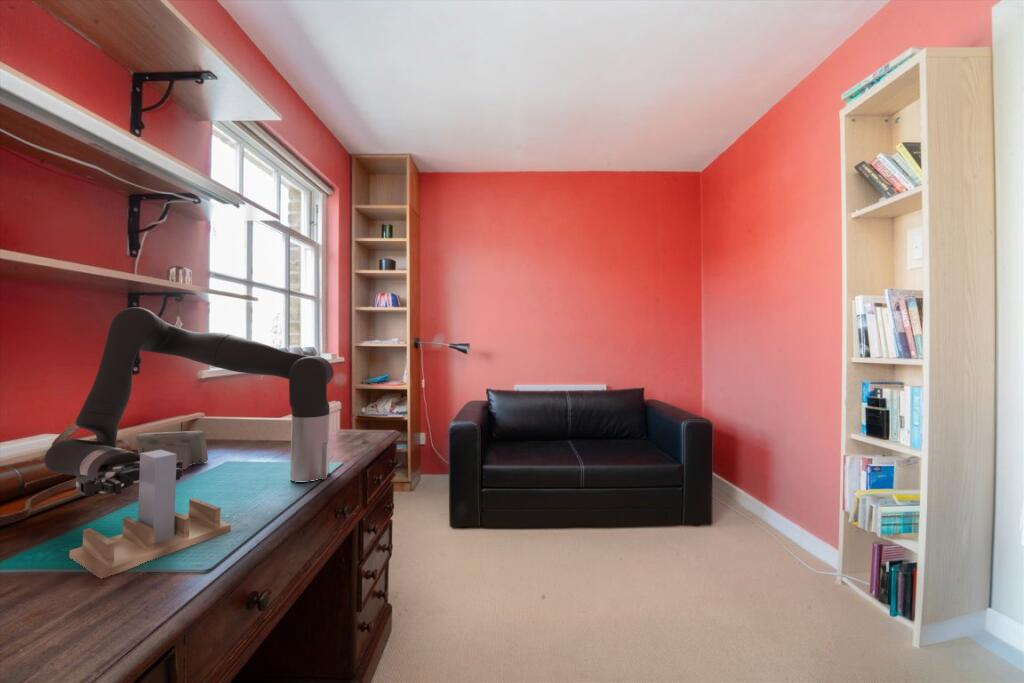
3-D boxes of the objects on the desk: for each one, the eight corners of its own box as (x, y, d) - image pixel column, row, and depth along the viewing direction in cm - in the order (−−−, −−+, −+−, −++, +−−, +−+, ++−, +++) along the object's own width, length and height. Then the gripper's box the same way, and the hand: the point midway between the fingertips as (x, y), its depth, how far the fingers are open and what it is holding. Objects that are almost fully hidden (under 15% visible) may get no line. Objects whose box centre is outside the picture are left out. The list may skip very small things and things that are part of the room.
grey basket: (211, 462, 118) (212, 427, 118) (191, 471, 109) (192, 434, 109) (152, 463, 116) (153, 428, 116) (127, 473, 107) (128, 435, 107)
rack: (195, 516, 81) (196, 495, 81) (230, 530, 75) (231, 507, 75) (69, 557, 65) (70, 530, 65) (100, 579, 59) (101, 550, 59)
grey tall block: (158, 529, 73) (160, 449, 73) (174, 536, 70) (176, 453, 70) (137, 535, 70) (140, 453, 70) (152, 544, 67) (155, 458, 68)
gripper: (61, 458, 72) (96, 471, 65) (157, 442, 85) (196, 452, 78) (60, 498, 72) (95, 516, 65) (156, 476, 85) (194, 489, 78)
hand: (150, 481), depth 71 cm, fingers open, 8 cm apart
